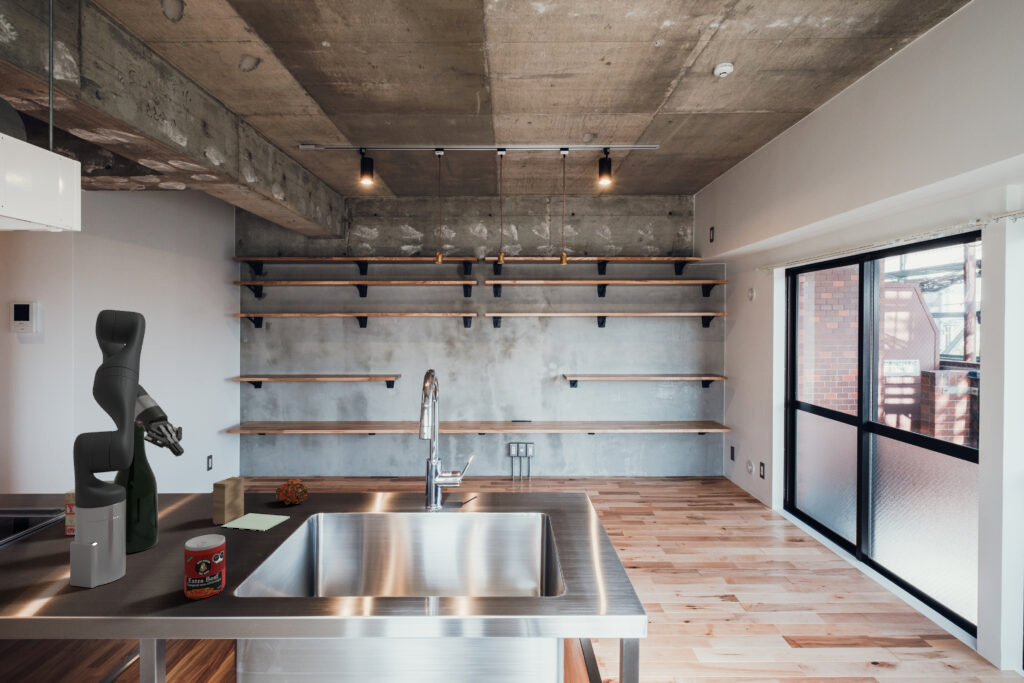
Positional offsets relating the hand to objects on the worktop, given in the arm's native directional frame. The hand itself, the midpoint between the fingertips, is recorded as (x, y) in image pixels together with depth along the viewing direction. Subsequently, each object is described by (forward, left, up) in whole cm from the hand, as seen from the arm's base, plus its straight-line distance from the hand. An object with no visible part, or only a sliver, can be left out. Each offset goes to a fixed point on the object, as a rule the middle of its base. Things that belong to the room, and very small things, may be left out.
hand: (180, 454), depth 167 cm
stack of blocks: (-10, +17, -19) cm, 28 cm away
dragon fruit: (+20, -25, -19) cm, 37 cm away
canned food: (-41, -45, -19) cm, 64 cm away
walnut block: (0, -17, -19) cm, 26 cm away
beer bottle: (-24, -8, -19) cm, 32 cm away
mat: (0, -26, -19) cm, 33 cm away
